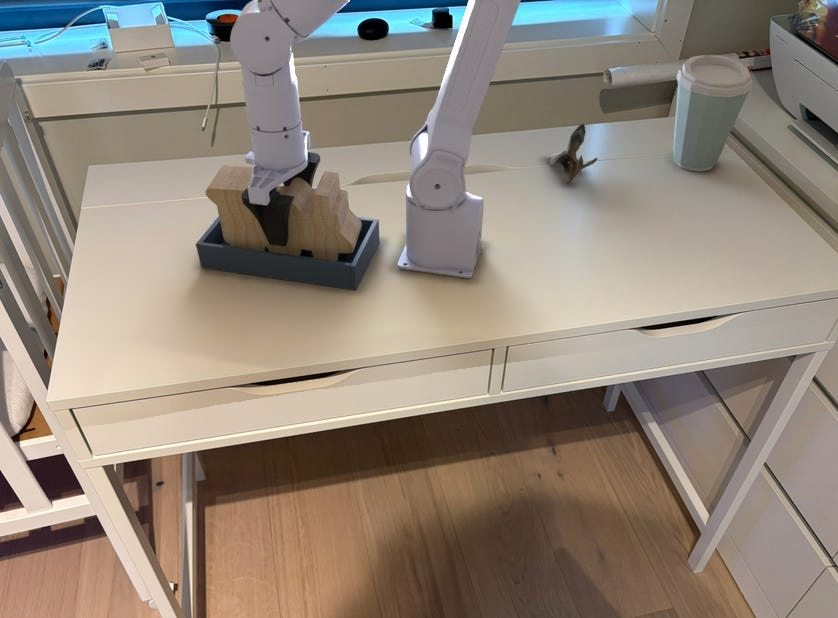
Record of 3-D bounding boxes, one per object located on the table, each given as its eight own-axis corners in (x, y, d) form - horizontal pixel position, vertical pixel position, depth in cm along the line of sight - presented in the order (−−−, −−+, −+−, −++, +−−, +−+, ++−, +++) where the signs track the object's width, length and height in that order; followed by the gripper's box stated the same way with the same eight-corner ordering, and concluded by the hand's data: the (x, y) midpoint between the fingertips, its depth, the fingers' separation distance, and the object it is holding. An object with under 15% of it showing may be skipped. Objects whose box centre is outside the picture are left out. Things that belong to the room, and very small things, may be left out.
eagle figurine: (607, 177, 107) (594, 139, 113) (590, 144, 102) (577, 106, 107) (560, 200, 110) (549, 162, 115) (541, 169, 105) (530, 130, 110)
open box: (379, 242, 95) (378, 219, 92) (356, 290, 87) (354, 266, 85) (236, 222, 97) (231, 199, 95) (201, 268, 89) (195, 243, 87)
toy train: (355, 269, 89) (350, 197, 82) (219, 258, 90) (203, 186, 83) (363, 244, 93) (359, 173, 87) (233, 234, 94) (219, 163, 87)
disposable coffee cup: (737, 178, 111) (769, 80, 101) (669, 180, 110) (695, 81, 100) (711, 146, 119) (738, 52, 109) (647, 147, 118) (669, 53, 107)
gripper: (265, 91, 86) (279, 194, 95) (212, 146, 75) (234, 255, 84) (322, 98, 85) (331, 200, 94) (277, 154, 74) (292, 263, 84)
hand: (289, 227), depth 89 cm, fingers open, 7 cm apart
